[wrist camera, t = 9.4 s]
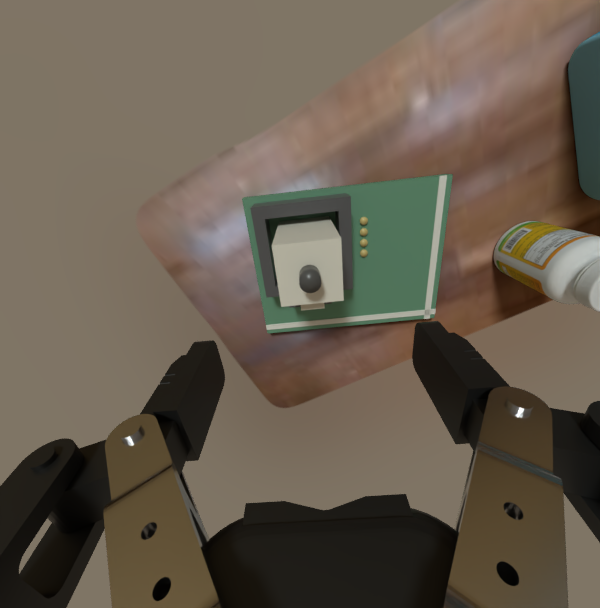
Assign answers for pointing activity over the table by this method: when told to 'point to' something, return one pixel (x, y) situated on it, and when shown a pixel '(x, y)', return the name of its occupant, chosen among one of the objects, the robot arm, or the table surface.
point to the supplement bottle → (552, 261)
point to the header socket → (304, 207)
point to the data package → (586, 112)
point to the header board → (373, 254)
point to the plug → (308, 262)
